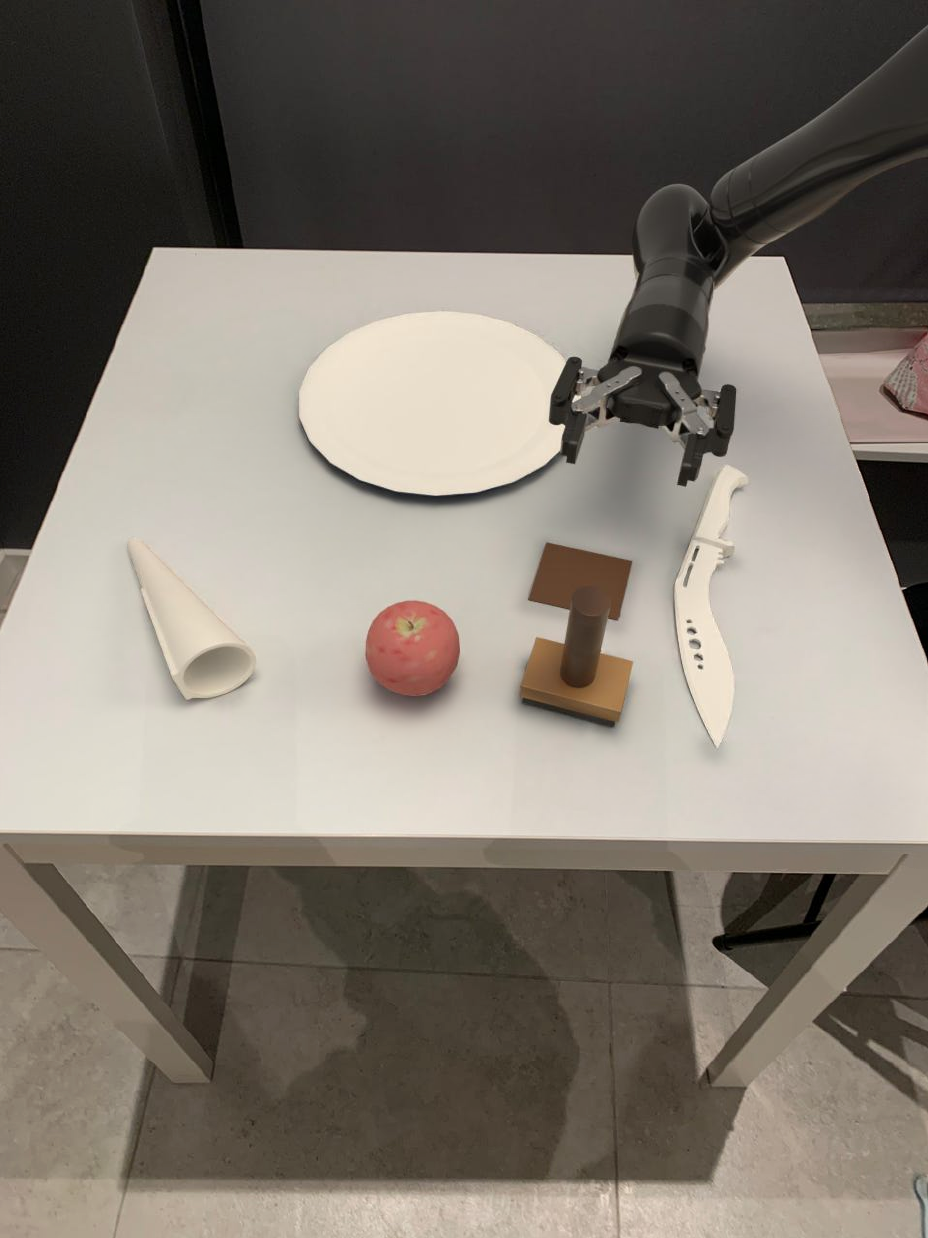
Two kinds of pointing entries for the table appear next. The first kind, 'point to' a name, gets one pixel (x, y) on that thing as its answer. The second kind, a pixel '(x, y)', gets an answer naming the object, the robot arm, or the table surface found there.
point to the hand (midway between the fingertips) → (627, 466)
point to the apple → (412, 648)
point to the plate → (434, 403)
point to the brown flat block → (579, 576)
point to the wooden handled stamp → (579, 666)
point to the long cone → (190, 631)
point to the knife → (707, 608)
